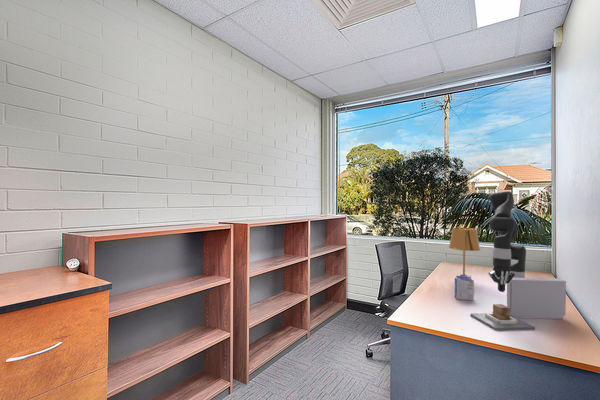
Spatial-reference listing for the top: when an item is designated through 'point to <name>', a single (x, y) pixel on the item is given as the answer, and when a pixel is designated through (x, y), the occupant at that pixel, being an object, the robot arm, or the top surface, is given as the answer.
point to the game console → (536, 297)
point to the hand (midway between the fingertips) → (501, 291)
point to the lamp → (464, 243)
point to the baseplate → (502, 322)
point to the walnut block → (501, 312)
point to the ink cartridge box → (464, 288)
